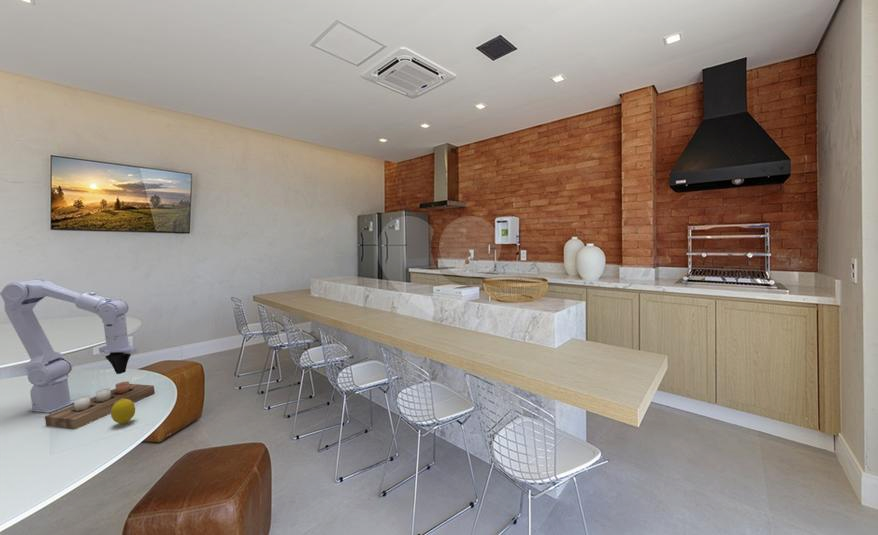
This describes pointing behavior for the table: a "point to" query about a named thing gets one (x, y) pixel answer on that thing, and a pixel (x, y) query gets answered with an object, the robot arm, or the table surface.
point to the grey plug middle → (103, 395)
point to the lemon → (123, 411)
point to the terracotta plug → (122, 387)
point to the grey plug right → (82, 403)
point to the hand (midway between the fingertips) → (121, 372)
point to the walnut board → (96, 408)
